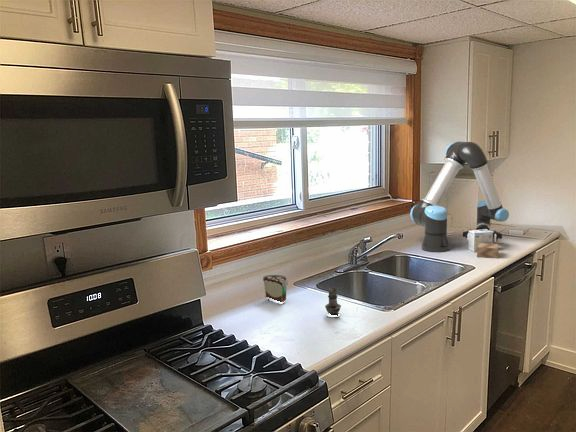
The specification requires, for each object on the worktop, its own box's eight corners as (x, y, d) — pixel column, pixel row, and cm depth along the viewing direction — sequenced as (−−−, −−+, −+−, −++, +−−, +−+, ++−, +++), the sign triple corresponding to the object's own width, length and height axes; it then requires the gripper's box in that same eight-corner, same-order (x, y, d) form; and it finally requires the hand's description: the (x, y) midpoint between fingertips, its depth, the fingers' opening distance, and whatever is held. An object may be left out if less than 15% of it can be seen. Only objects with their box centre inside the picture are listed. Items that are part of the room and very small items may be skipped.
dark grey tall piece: (335, 311, 178) (334, 280, 176) (344, 316, 173) (343, 284, 170) (322, 314, 175) (321, 283, 173) (331, 319, 170) (330, 288, 168)
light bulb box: (486, 247, 258) (486, 228, 256) (492, 250, 251) (493, 231, 249) (467, 249, 257) (468, 230, 255) (473, 252, 250) (474, 232, 248)
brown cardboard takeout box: (476, 257, 241) (477, 247, 240) (477, 252, 250) (478, 242, 249) (498, 258, 237) (498, 248, 236) (498, 253, 246) (498, 243, 245)
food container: (295, 301, 189) (294, 278, 188) (284, 306, 185) (283, 281, 183) (274, 295, 198) (273, 272, 196) (263, 299, 194) (262, 276, 192)
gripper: (506, 237, 268) (506, 246, 249) (459, 235, 278) (456, 243, 259) (506, 225, 266) (507, 232, 247) (460, 223, 276) (457, 230, 257)
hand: (481, 238), depth 253 cm, fingers open, 13 cm apart
